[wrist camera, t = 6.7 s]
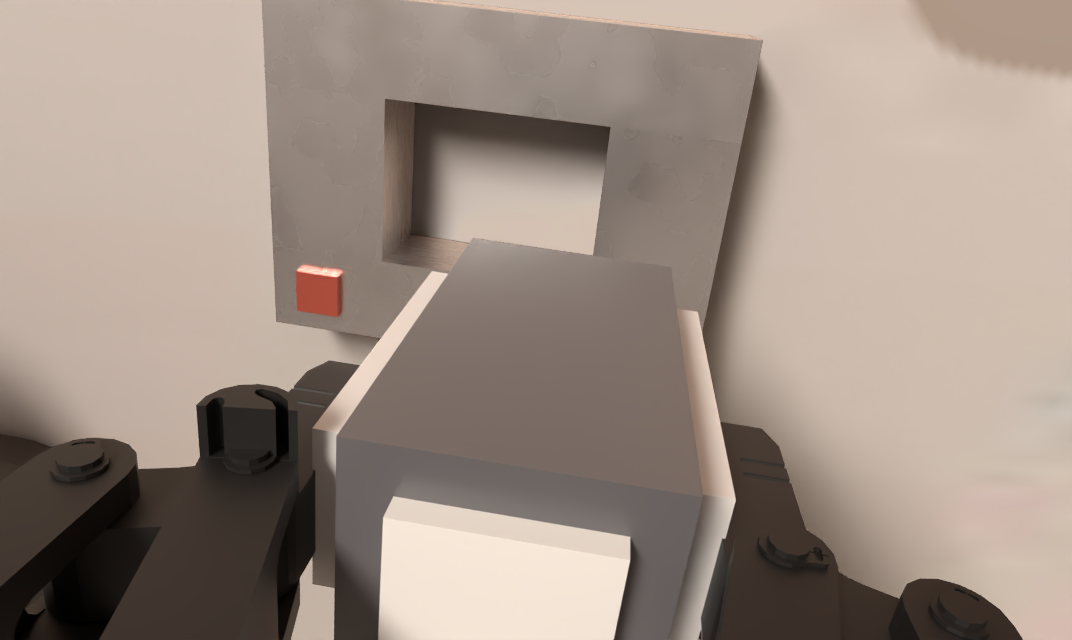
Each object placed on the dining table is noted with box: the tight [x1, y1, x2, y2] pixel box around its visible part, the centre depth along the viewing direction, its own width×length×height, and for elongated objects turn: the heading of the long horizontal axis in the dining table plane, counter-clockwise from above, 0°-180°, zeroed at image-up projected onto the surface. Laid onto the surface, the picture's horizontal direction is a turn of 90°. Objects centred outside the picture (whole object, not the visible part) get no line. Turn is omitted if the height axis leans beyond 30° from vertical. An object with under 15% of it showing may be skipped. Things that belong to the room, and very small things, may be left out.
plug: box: [334, 238, 703, 640], centre depth 13 cm, size 4×4×8 cm
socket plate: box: [262, 0, 763, 338], centre depth 27 cm, size 12×16×4 cm
